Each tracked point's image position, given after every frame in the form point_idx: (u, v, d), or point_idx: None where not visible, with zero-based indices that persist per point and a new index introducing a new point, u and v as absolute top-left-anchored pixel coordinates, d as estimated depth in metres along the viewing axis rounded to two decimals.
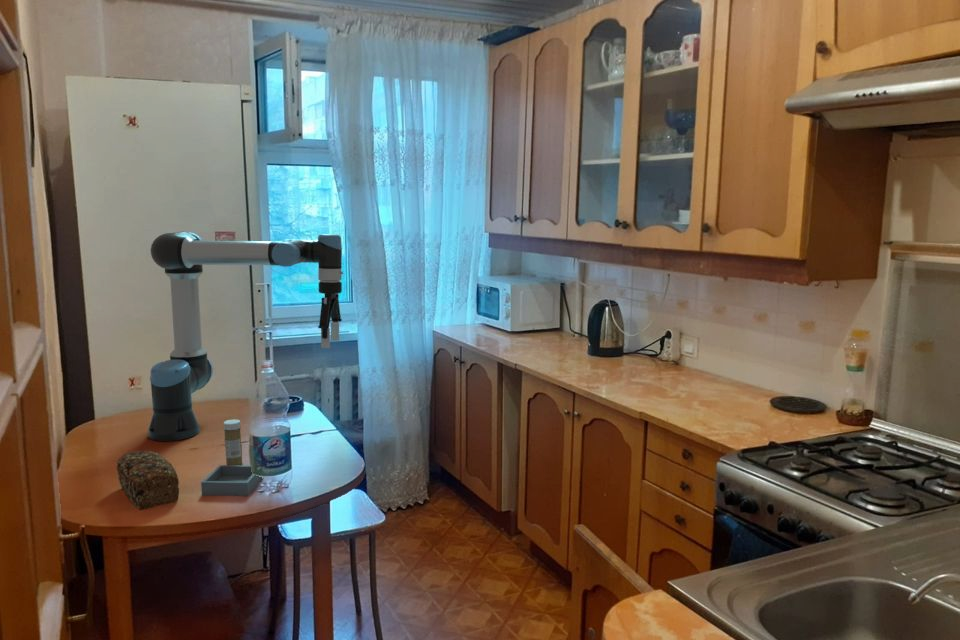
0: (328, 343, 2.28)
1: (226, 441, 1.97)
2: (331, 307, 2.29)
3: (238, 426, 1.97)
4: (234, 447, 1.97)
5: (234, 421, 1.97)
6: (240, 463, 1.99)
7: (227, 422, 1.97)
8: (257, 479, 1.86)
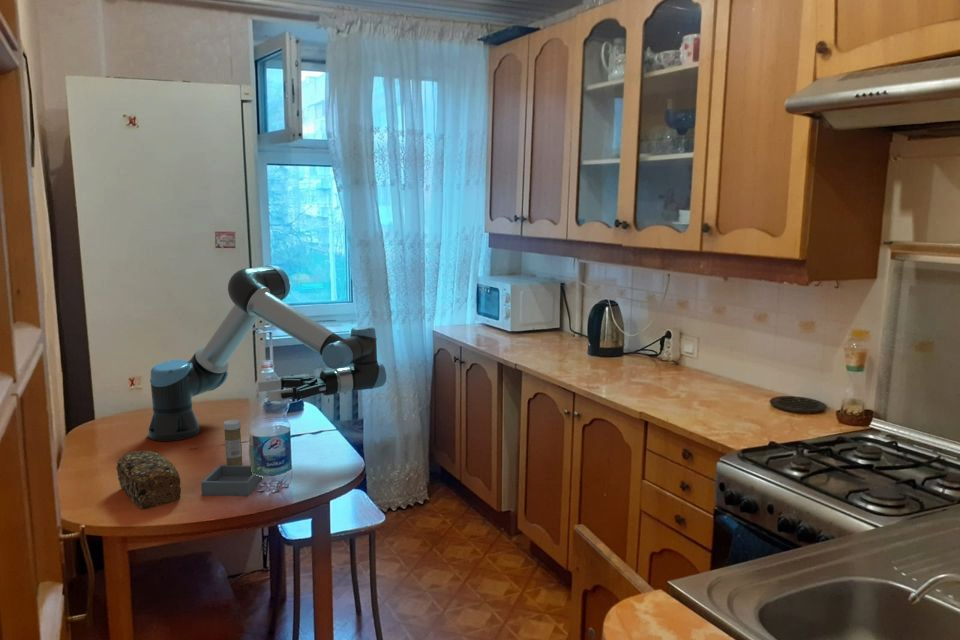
0: (274, 400, 1.96)
1: (226, 441, 1.97)
2: None
3: (238, 426, 1.97)
4: (234, 447, 1.97)
5: (234, 421, 1.97)
6: (240, 463, 1.99)
7: (227, 422, 1.97)
8: (257, 479, 1.86)
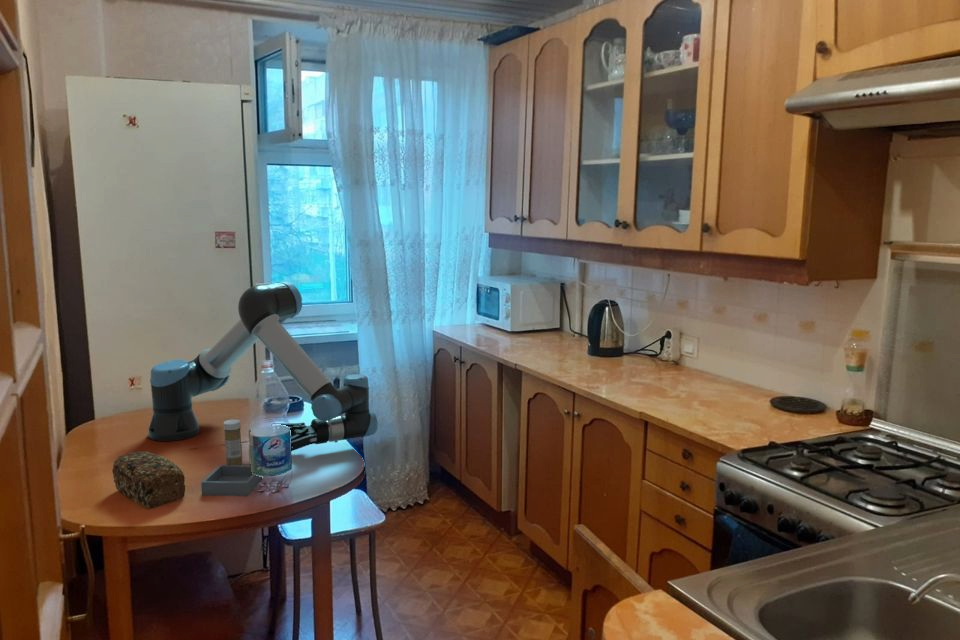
0: None
1: (226, 441, 1.97)
2: None
3: (238, 426, 1.97)
4: (234, 447, 1.97)
5: (234, 421, 1.97)
6: (240, 463, 1.99)
7: (227, 422, 1.97)
8: (257, 479, 1.86)
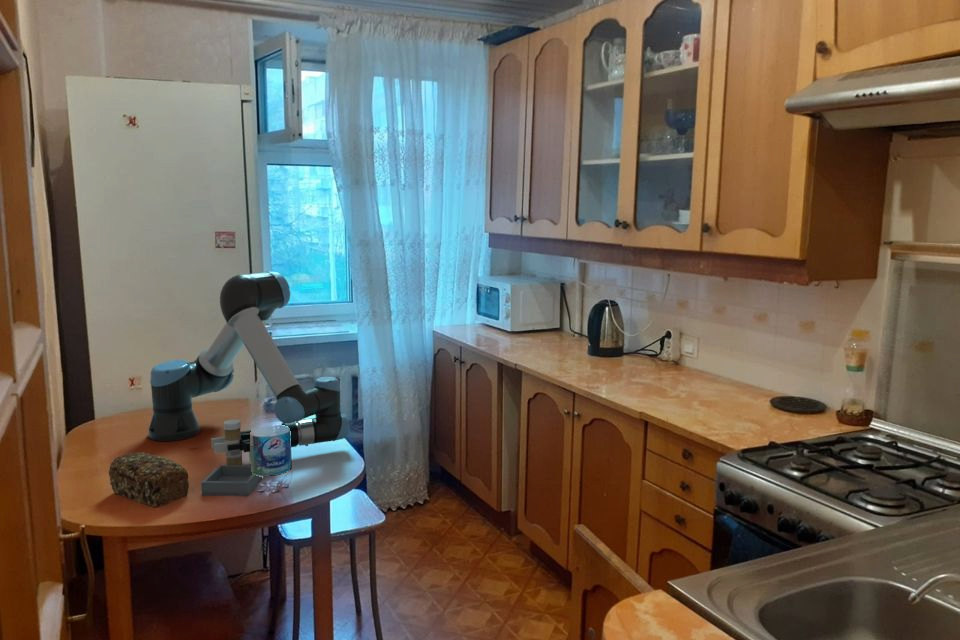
0: (220, 452, 1.94)
1: (226, 441, 1.97)
2: None
3: (238, 426, 1.97)
4: None
5: (234, 421, 1.97)
6: (240, 463, 1.99)
7: (227, 422, 1.97)
8: (257, 479, 1.86)
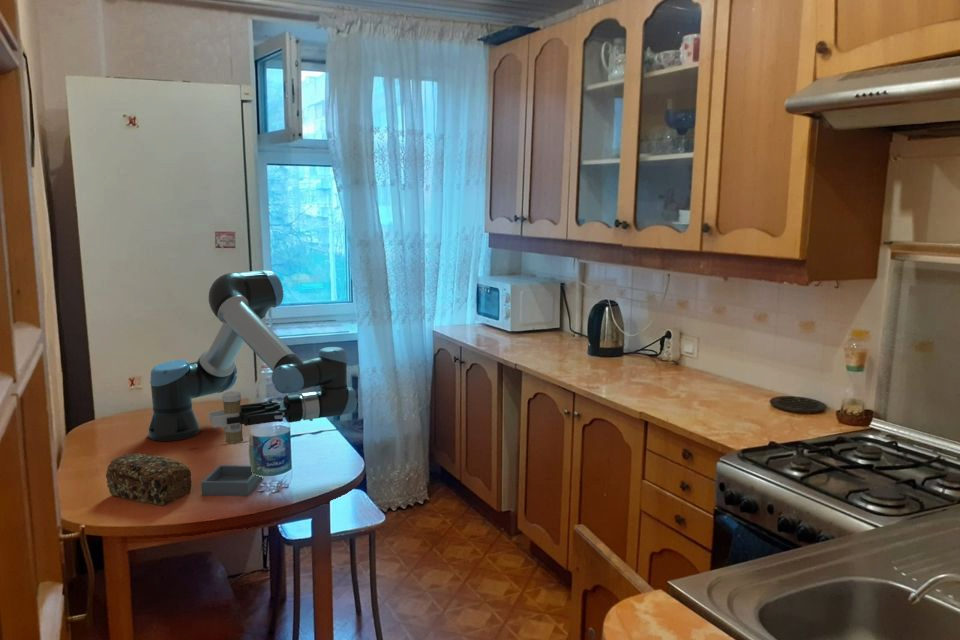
0: (219, 425, 1.81)
1: (225, 414, 1.83)
2: None
3: (238, 398, 1.83)
4: None
5: (234, 393, 1.84)
6: (240, 438, 1.85)
7: (226, 394, 1.83)
8: (257, 479, 1.86)
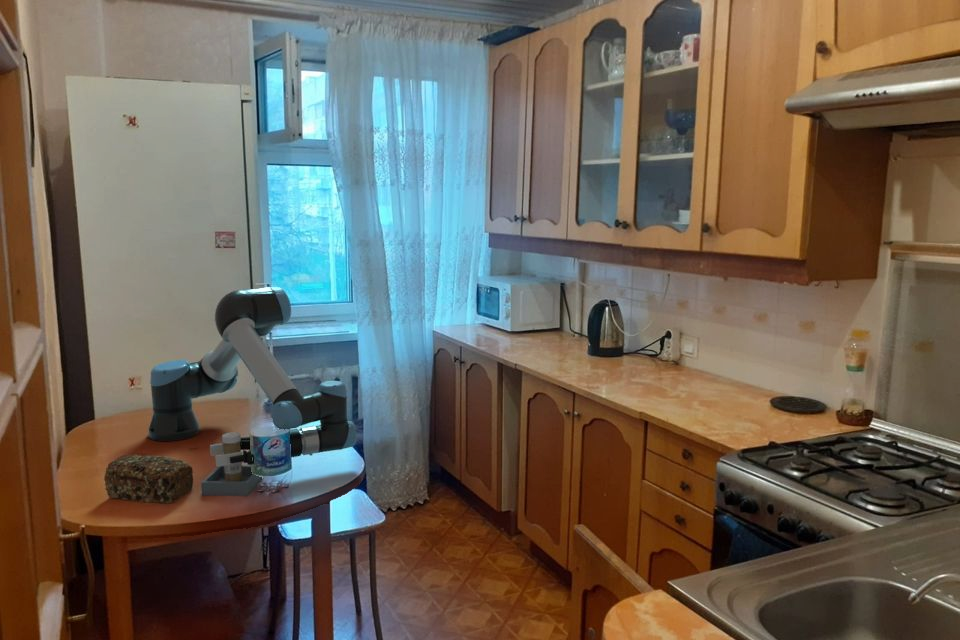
0: (222, 465, 1.79)
1: None
2: None
3: (238, 439, 1.83)
4: None
5: (233, 434, 1.84)
6: (240, 479, 1.85)
7: (226, 435, 1.83)
8: (257, 479, 1.86)
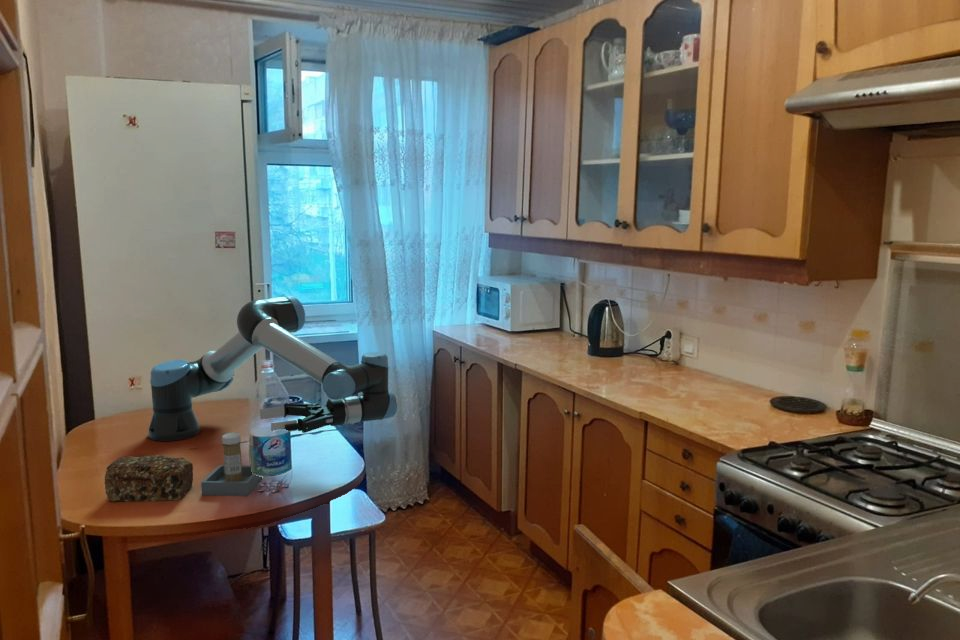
0: None
1: (225, 456, 1.82)
2: None
3: (238, 440, 1.83)
4: (234, 462, 1.83)
5: (233, 435, 1.83)
6: (240, 480, 1.85)
7: (226, 436, 1.82)
8: (257, 479, 1.86)
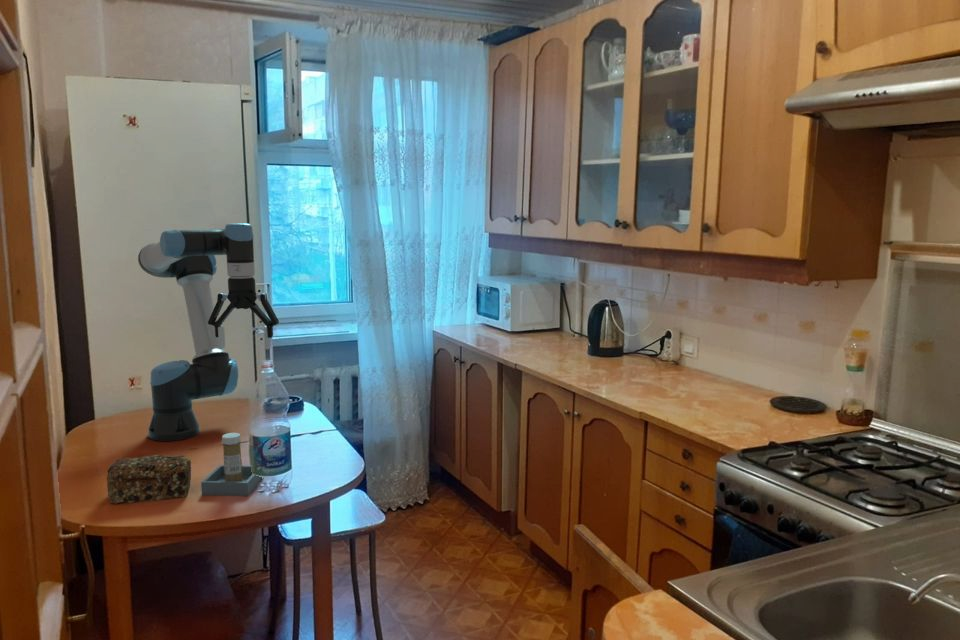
0: (219, 344, 2.06)
1: (225, 456, 1.82)
2: None
3: (238, 440, 1.83)
4: (234, 462, 1.83)
5: (233, 435, 1.83)
6: (240, 480, 1.85)
7: (226, 436, 1.82)
8: (257, 479, 1.86)
